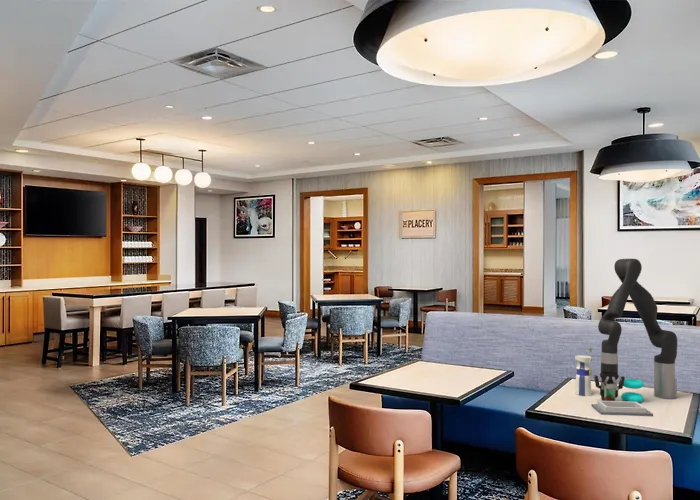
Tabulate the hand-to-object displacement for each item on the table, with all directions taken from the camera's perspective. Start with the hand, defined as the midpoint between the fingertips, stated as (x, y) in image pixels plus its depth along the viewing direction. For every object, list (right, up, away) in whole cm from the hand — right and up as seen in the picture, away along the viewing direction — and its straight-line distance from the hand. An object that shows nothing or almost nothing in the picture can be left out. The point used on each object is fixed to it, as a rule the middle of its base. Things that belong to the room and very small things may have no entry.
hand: (608, 397), depth 274 cm
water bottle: (-6, -3, +16) cm, 17 cm away
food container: (+1, -3, 0) cm, 3 cm away
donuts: (+13, -3, +4) cm, 14 cm away
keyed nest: (-1, -3, -15) cm, 15 cm away
